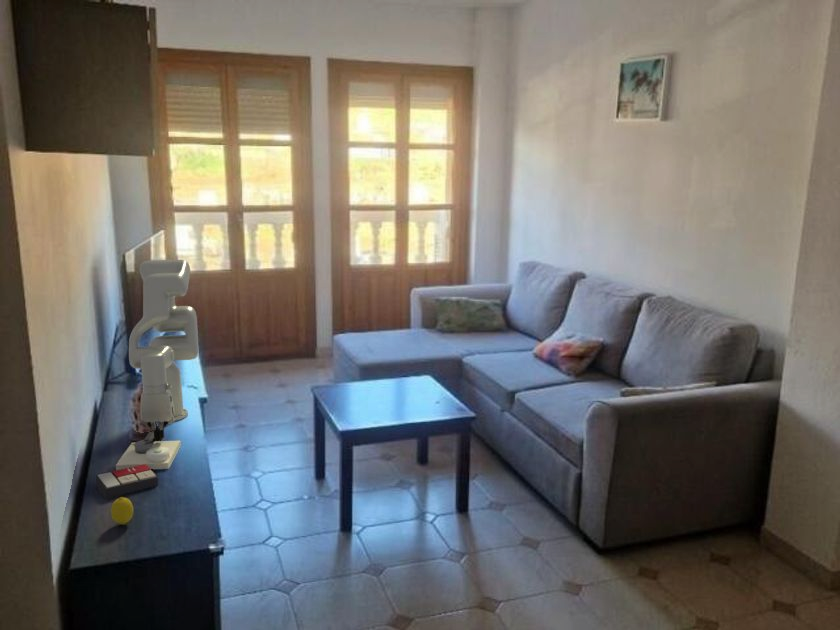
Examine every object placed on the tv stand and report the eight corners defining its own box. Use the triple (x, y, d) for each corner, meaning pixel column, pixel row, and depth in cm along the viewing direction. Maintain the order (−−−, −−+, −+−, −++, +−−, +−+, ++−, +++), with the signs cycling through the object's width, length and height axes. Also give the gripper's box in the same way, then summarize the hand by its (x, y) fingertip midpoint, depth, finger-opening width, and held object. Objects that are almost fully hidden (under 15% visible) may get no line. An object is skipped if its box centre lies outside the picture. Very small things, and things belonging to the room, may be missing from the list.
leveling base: (132, 447, 236) (131, 435, 235) (180, 445, 238) (180, 433, 237) (116, 471, 219) (114, 457, 218) (168, 468, 220) (167, 455, 219)
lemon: (108, 529, 185) (105, 502, 183) (118, 518, 190) (115, 492, 188) (128, 530, 184) (126, 502, 182) (138, 519, 190) (135, 492, 188)
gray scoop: (143, 438, 239) (142, 431, 238) (161, 437, 240) (161, 430, 239) (132, 454, 226) (132, 446, 226) (151, 453, 227) (151, 446, 226)
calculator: (158, 475, 209) (105, 486, 200) (158, 488, 210) (106, 500, 201) (146, 462, 217) (95, 473, 208) (147, 475, 218) (96, 486, 209)
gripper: (180, 384, 235) (184, 434, 240) (135, 385, 234) (139, 436, 238) (175, 391, 228) (179, 443, 232) (128, 393, 226) (133, 445, 231)
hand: (159, 439), depth 235 cm, fingers closed
